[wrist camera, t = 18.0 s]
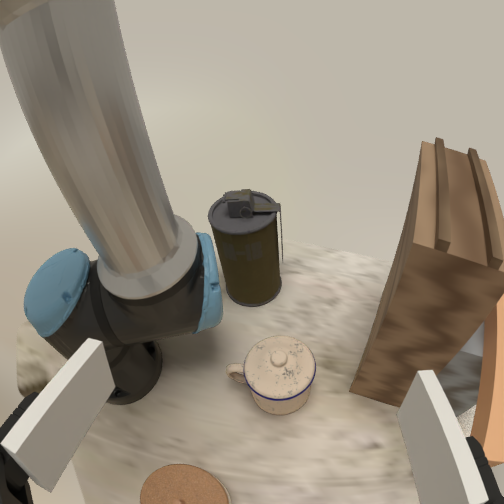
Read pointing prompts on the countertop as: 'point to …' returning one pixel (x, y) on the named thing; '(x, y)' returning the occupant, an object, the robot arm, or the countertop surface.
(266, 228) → the canister
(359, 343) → the countertop surface
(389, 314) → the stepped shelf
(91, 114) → the robot arm
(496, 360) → the terracotta bar
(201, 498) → the lidded jar
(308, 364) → the teacup with lid
